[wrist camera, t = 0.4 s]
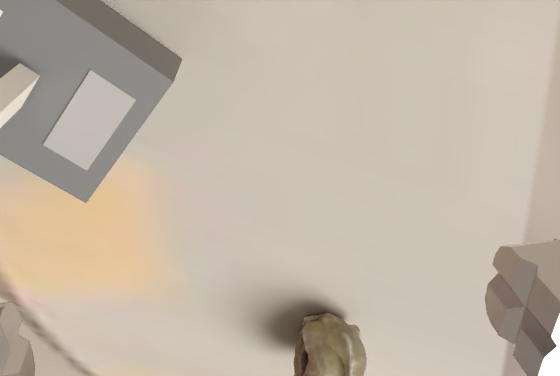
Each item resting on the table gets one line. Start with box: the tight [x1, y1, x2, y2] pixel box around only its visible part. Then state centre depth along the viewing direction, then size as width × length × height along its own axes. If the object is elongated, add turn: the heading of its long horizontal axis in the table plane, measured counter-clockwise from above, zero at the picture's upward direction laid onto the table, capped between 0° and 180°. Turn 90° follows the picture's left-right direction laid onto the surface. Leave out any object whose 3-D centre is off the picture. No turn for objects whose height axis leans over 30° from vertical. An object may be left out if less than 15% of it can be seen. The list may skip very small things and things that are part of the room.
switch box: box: [0, 0, 182, 203], centre depth 43 cm, size 18×14×6 cm
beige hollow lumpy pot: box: [294, 313, 367, 376], centre depth 60 cm, size 9×8×10 cm
